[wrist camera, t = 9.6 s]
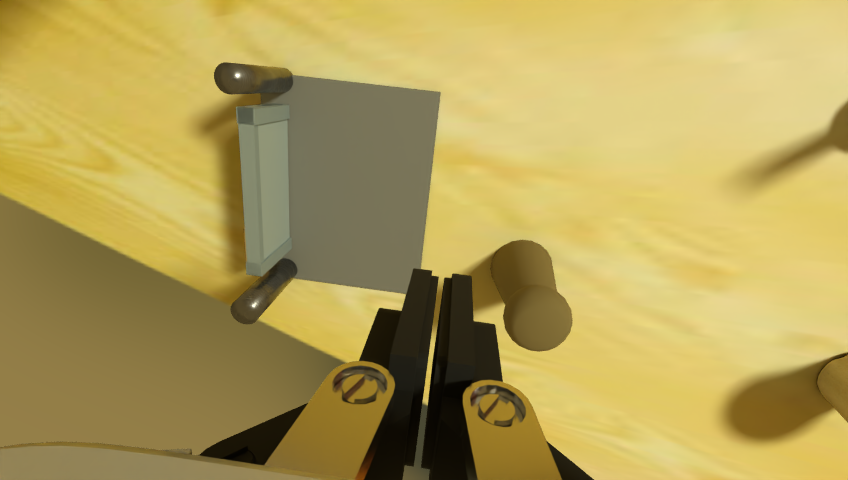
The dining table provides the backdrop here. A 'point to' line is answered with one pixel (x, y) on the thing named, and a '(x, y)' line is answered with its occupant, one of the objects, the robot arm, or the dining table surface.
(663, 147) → the dining table surface
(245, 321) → the stile
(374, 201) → the mat
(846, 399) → the flower pot
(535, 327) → the cork
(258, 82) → the hinge post
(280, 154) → the gate
